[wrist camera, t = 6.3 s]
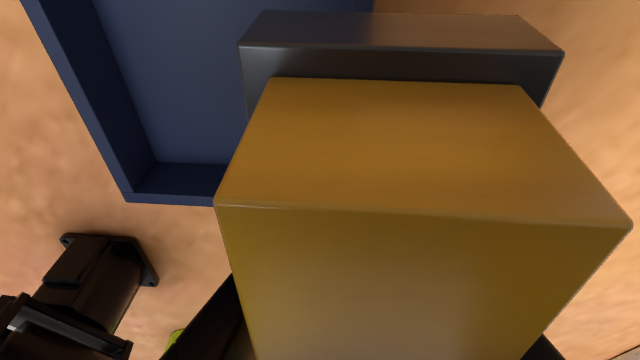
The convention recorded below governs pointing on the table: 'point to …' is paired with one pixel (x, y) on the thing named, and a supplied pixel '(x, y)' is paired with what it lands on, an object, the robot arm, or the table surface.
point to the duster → (405, 189)
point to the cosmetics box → (630, 355)
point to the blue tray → (159, 84)
